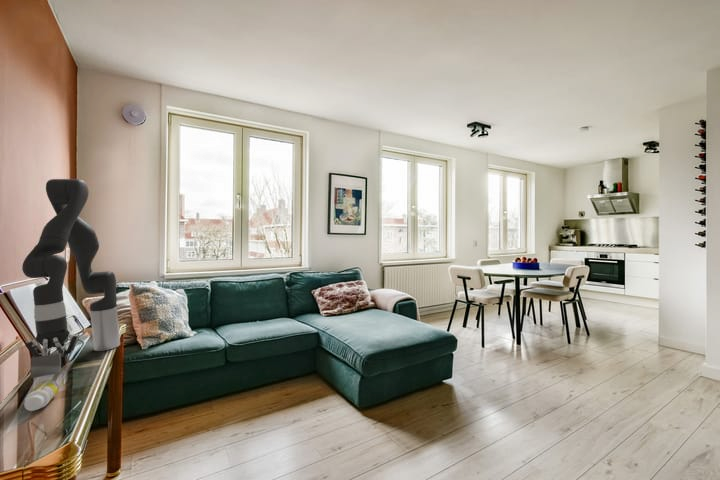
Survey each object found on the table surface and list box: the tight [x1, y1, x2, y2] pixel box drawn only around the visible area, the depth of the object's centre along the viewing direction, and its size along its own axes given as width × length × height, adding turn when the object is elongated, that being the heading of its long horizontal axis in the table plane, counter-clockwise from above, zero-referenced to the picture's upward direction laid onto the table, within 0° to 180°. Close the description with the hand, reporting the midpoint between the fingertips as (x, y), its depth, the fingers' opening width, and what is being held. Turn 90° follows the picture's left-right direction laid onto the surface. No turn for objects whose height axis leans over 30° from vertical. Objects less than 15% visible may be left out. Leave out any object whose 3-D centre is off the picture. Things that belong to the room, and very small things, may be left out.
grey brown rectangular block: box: [29, 352, 70, 379], centre depth 110 cm, size 13×7×6 cm, turn 22°
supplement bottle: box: [23, 379, 60, 412], centre depth 100 cm, size 6×6×10 cm
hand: (56, 367), depth 111 cm, fingers closed on grey brown rectangular block, 3 cm apart
